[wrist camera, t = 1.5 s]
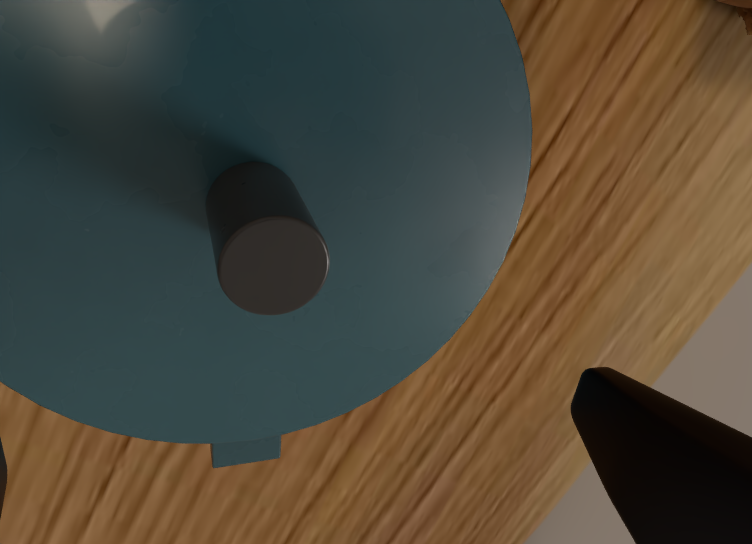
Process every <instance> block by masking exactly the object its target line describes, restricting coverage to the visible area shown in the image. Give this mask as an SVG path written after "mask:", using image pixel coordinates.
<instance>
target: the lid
mask: <svg viewBox="0 0 752 544" xmlns="http://www.w3.org/2000/svg"><path fill="white" fill-rule="evenodd" d="M531 146H532V120H531V107H530V94H529V89H528V84H527V79H526V74H525V69H524V64H523V59H522V55H521V52H520V49H519V46H518V43H517V40H516V38H515V35H514V32H513V29H512V26H511V23H510V20H509V18H508V16H507V14H506V12H505V9H504V7H503V5H502V3H501V1H500V0H0V381H1V382H2V383H3V384H5V385H6V386H8V387H9V388H11V389H13V390H15V391H16V392H18V393H20V394H21V395H23V396H25V397H27V398H28V399H30V400H32V401H33V402H35V403H37V404H38V405H40V406H43V407H45V408H47V409H49V410H52V411H54V412H56V413H58V414H61V415H63V416H65V417H67V418H70V419H72V420H74V421H77V422H80V423H83V424H86V425H90V426H93V427H96V428H99V429H102V430H105V431H108V432H112V433H117V434H121V435H126V436H131V437H136V438H141V439H146V440H154V441H164V442H174V443H200V444H218V443H229V442H240V441H250V440H256V439H261V438H267V437H272V436H277V435H282V434H286V433H290V432H293V431H297V430H300V429H304V428H307V427H310V426H314V425H317V424H320V423H322V422H325V421H327V420H330V419H332V418H335V417H337V416H340V415H342V414H345V413H347V412H349V411H351V410H353V409H355V408H357V407H359V406H361V405H363V404H365V403H366V402H368V401H370V400H372V399H374V398H376V397H378V396H379V395H381V394H382V393H384V392H385V391H387V390H388V389H390V388H392V387H393V386H395V385H396V384H398V383H399V382H401V381H402V380H404V379H405V378H406V377H407V376H409V375H410V374H411V373H413V372H414V371H415V370H416V369H418V368H419V367H420V366H421V365H423V364H424V363H425V362H427V361H428V360H429V359H430V358H431V357H432V356H433V355H434V354H435V353H436V352H437V351H438V350H439V349H440V348H441V347H442V346H443V345H444V344H445V343H446V342H447V341H448V340H449V339H450V338H451V337H452V336H453V335H454V334H455V332H456V331H457V330H458V329H459V328H460V327H461V325H462V324H463V323H464V322H465V321H466V320H467V318H468V317H469V316H470V315H471V313H472V312H473V310H474V309H475V307H476V306H477V305H478V303H479V302H480V300H481V299H482V297H483V296H484V294H485V293H486V291H487V290H488V288H489V286H490V285H491V283H492V281H493V279H494V277H495V276H496V274H497V272H498V270H499V268H500V266H501V265H502V263H503V261H504V258H505V256H506V253H507V251H508V249H509V246H510V244H511V241H512V239H513V236H514V234H515V232H516V228H517V225H518V221H519V218H520V214H521V211H522V207H523V204H524V201H525V196H526V190H527V184H528V178H529V172H530V166H531Z"/></svg>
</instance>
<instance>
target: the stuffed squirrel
mask: <svg viewBox="0 0 752 544" xmlns="http://www.w3.org/2000/svg"><path fill="white" fill-rule="evenodd" d="M715 1H718V2H722V3H726V4H729V5H733V6H737V9H736V11H737V12H738V15H739V17H740V16H742V17H743V20H744V21H745V24H746V30H747V35H752V0H715Z"/></svg>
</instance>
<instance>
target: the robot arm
mask: <svg viewBox="0 0 752 544" xmlns="http://www.w3.org/2000/svg"><path fill="white" fill-rule="evenodd" d="M571 415H572V418H573V421H574V423H575V425H576V427H577V430H578V432H579V434H580V436H581V438H582V440H583V443H584V445H585V447H586V449H587V451H588V453H589V456H590V458H591V460H592V462H593V464H594V466H595V468H596V471H597V473H598V475H599V477H600V479H601V481H602V484H603V485H604V488H605V490H606V492H607V493H608V496H609V498H610V499H611V501H612V503H613V505H614V506H615V508H616V510H617V511H618V513H619V515H620V517H621V519H622V520H623V522H624V524H625V526H626V527H627V529H628V531H629V532H630V534H631V536H632V538H633V539H634V541H635V543H636V544H752V437H750V436H748V435H746V434H744V433H742V432H740V431H737V430H736V429H733V428H731V427H729V426H727V425H725V424H723V423H721V422H719V421H717V420H715V419H713V418H711V417H709V416H707V415H705V414H703V413H701V412H699V411H697V410H695V409H693V408H690V407H689V406H687V405H685V404H683V403H681V402H679V401H677V400H674V399H672V398H670V397H668V396H666V395H664V394H662V393H660V392H658V391H656V390H654V389H652V388H650V387H648V386H646V385H644V384H642V383H640V382H638V381H636V380H634V379H632V378H630V377H628V376H626V375H624V374H622V373H620V372H618V371H616V370H614V369H611V368H609V367H597V368H588V369H586V370H585V371H584V372H583V373H582V375H581V377H580V380H579V383H578V386H577V389H576V392H575V395H574V397H573V400H572V403H571ZM6 484H7V465H6V460H5V456H4V451H3V447H2V443H1V438H0V518H1V512H2V507H3V501H4V495H5V490H6Z"/></svg>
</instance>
